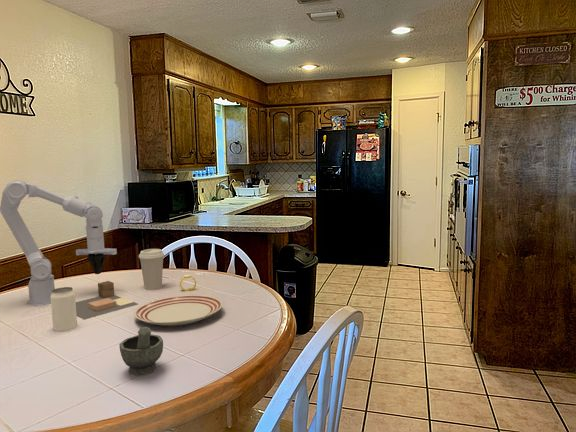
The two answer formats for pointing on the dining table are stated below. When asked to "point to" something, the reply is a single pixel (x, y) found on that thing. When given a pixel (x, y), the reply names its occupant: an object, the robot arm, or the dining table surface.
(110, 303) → the tile
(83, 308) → the mat
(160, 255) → the coffee cup
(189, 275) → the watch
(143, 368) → the mortar and pestle
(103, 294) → the block
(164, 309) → the dinner plate
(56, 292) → the can
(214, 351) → the dining table surface
